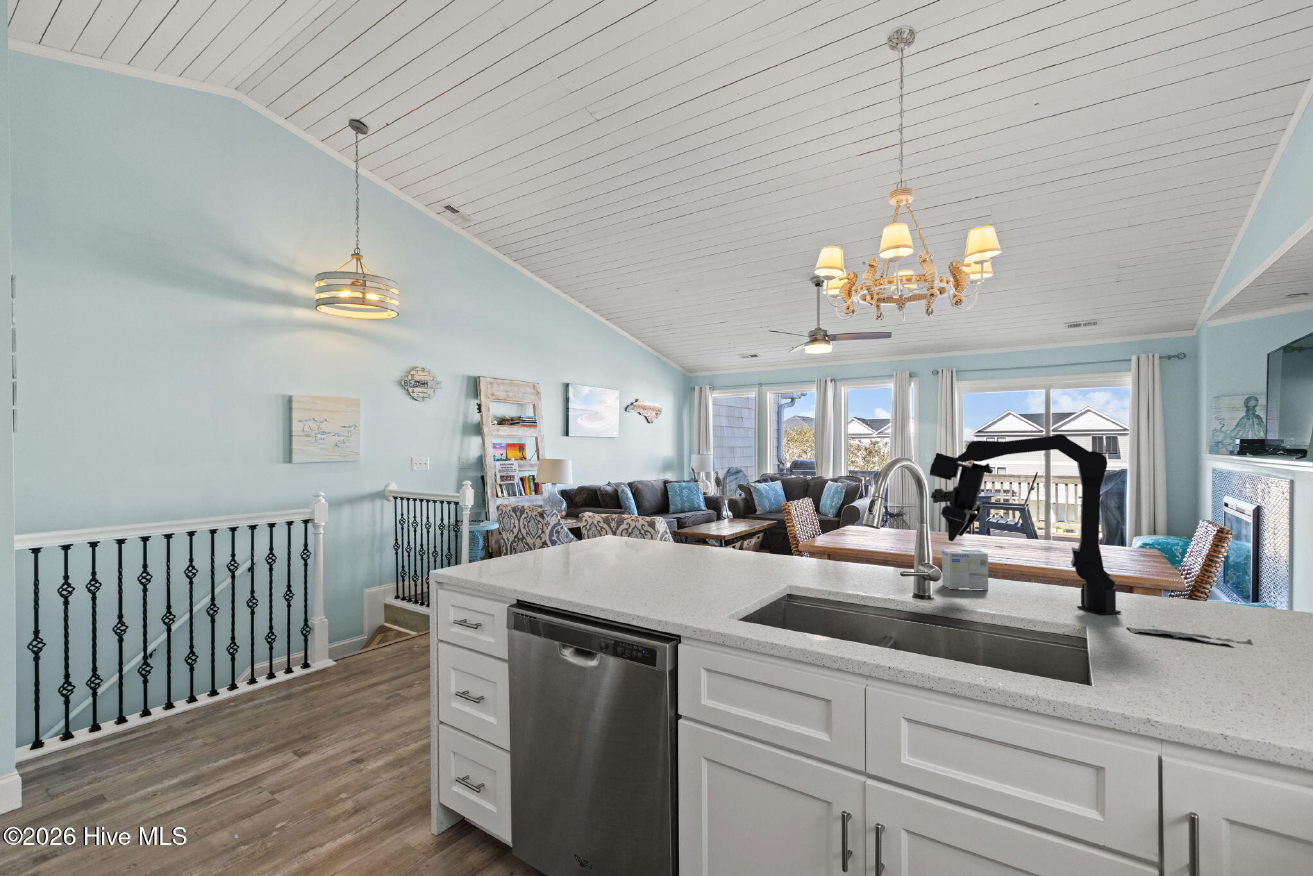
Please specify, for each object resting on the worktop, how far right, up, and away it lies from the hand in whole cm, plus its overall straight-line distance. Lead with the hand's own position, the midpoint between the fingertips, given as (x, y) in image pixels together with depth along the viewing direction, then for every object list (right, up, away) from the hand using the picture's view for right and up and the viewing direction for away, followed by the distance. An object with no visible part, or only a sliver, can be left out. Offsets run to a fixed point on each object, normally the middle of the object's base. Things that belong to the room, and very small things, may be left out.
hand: (955, 538), depth 167 cm
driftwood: (+30, -16, -39) cm, 52 cm away
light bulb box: (+5, -15, +5) cm, 17 cm away
